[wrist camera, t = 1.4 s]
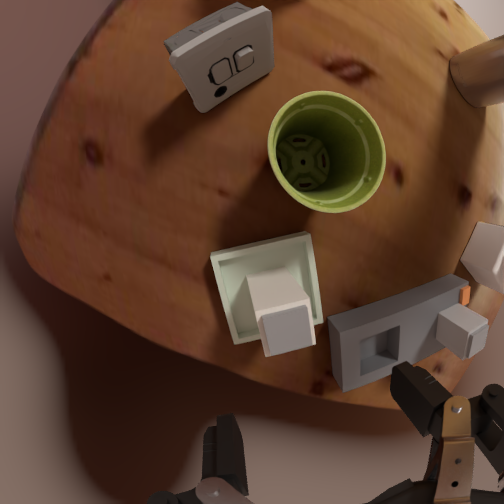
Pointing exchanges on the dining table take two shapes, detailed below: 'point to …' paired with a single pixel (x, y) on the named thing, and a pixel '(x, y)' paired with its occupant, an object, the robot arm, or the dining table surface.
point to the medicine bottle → (486, 255)
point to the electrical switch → (223, 53)
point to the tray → (256, 260)
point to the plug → (281, 311)
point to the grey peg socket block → (404, 331)
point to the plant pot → (327, 151)
